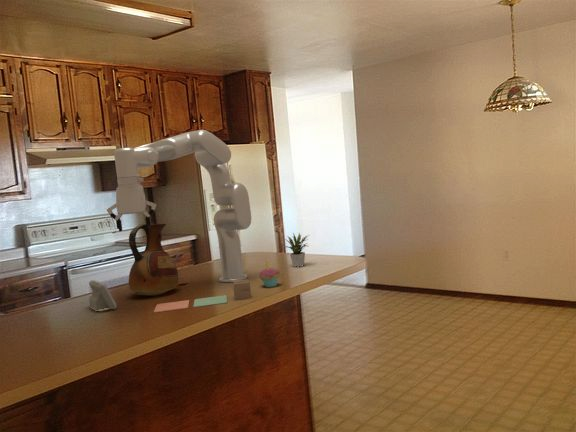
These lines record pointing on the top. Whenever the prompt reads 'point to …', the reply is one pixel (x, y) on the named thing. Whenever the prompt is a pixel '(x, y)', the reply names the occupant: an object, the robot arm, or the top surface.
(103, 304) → the digital clock
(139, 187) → the robot arm
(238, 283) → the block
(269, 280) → the cupcake
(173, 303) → the mat
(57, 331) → the top surface
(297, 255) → the house plant
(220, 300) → the mat
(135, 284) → the ceramic pitcher
